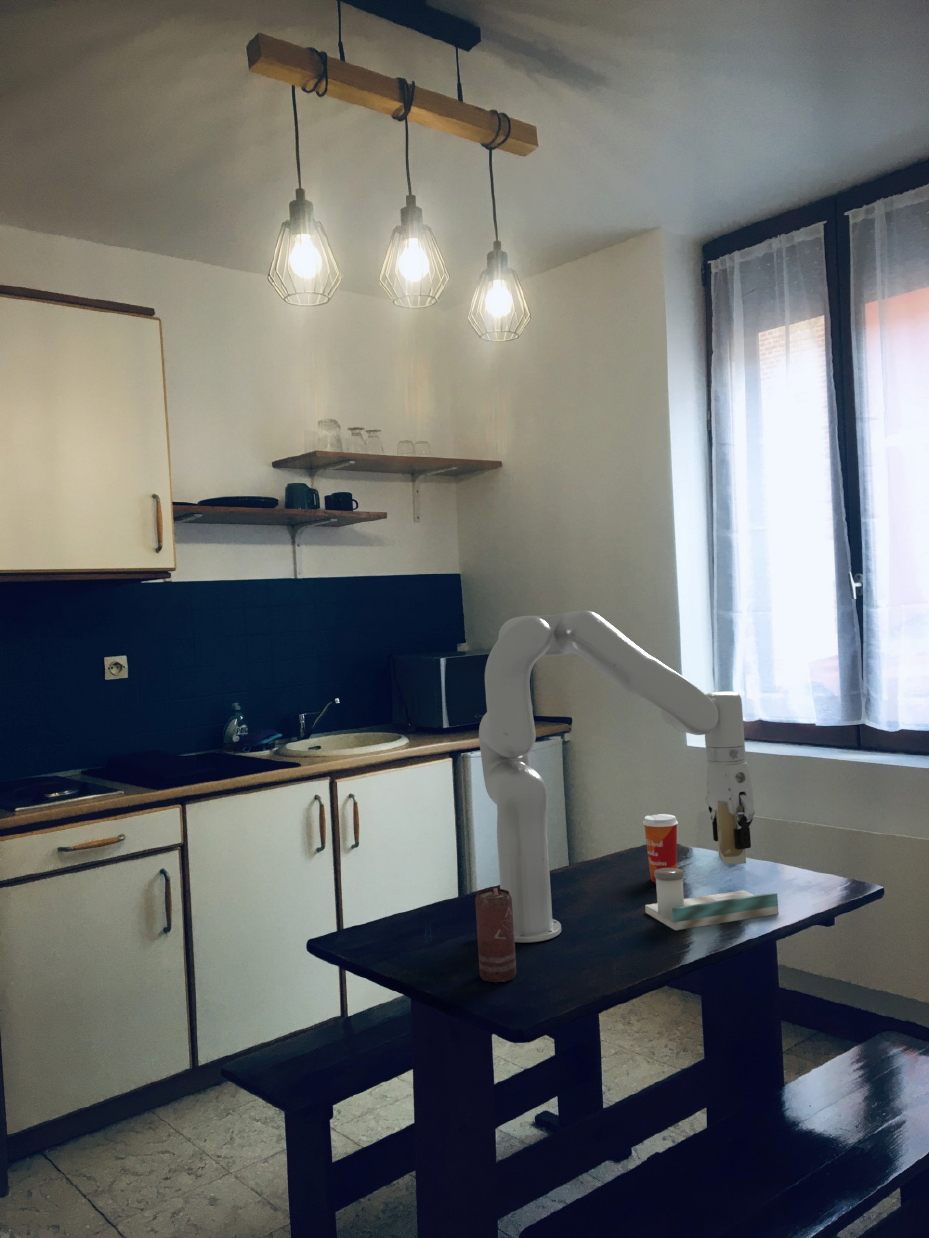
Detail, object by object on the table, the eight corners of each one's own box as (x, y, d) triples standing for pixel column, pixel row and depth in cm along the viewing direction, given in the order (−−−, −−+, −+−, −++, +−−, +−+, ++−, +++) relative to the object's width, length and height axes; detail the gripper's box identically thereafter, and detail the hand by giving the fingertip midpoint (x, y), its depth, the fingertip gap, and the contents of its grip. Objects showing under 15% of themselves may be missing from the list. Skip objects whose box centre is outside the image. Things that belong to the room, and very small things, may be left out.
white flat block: (675, 930, 174) (673, 909, 174) (645, 912, 185) (644, 892, 185) (778, 913, 180) (777, 893, 180) (743, 897, 191) (742, 878, 191)
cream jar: (665, 919, 176) (662, 876, 176) (652, 911, 181) (649, 869, 181) (691, 915, 177) (688, 872, 177) (677, 907, 182) (674, 866, 182)
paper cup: (640, 878, 210) (636, 816, 210) (670, 873, 212) (666, 812, 212) (657, 887, 202) (653, 822, 203) (688, 882, 205) (684, 818, 205)
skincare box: (718, 857, 188) (714, 796, 189) (740, 856, 188) (736, 795, 188) (724, 865, 182) (719, 802, 182) (747, 864, 182) (742, 801, 182)
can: (514, 968, 159) (509, 885, 159) (518, 982, 153) (512, 896, 153) (479, 970, 159) (474, 888, 159) (481, 985, 153) (475, 899, 153)
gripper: (767, 757, 178) (774, 851, 178) (719, 748, 195) (725, 833, 195) (732, 761, 176) (739, 856, 176) (686, 751, 193) (692, 838, 193)
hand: (731, 843), depth 185 cm, fingers closed on skincare box, 7 cm apart
